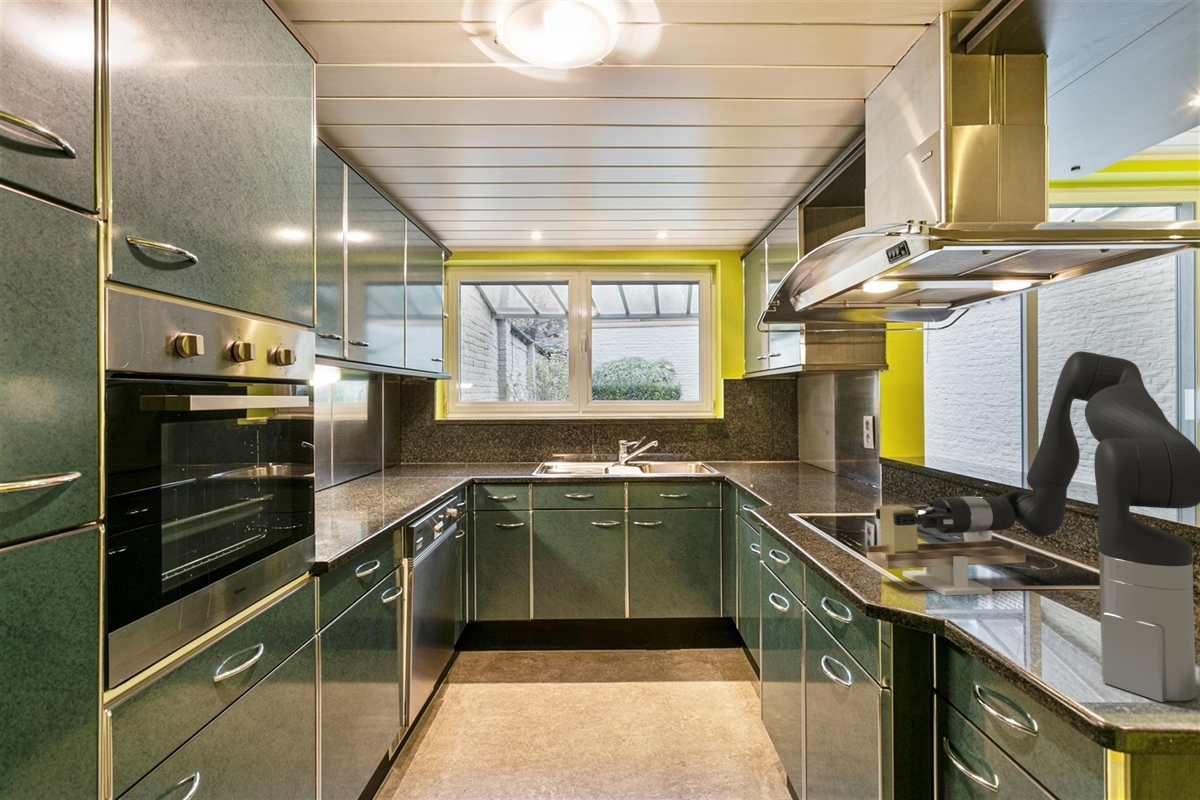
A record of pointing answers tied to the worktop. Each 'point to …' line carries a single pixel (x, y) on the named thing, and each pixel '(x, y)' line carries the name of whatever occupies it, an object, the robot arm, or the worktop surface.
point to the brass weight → (897, 531)
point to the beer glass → (978, 534)
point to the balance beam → (948, 554)
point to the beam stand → (948, 579)
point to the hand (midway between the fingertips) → (885, 516)
